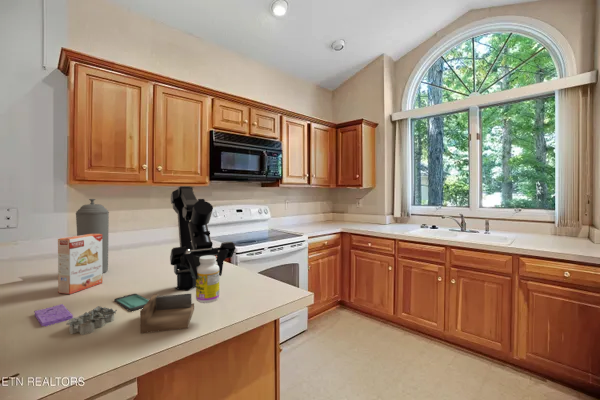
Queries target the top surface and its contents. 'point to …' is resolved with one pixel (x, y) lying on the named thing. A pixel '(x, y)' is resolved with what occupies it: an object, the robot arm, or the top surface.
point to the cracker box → (79, 262)
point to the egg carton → (91, 320)
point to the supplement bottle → (207, 280)
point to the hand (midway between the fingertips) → (209, 277)
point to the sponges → (53, 315)
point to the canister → (94, 226)
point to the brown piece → (163, 317)
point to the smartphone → (132, 302)
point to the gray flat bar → (173, 302)
